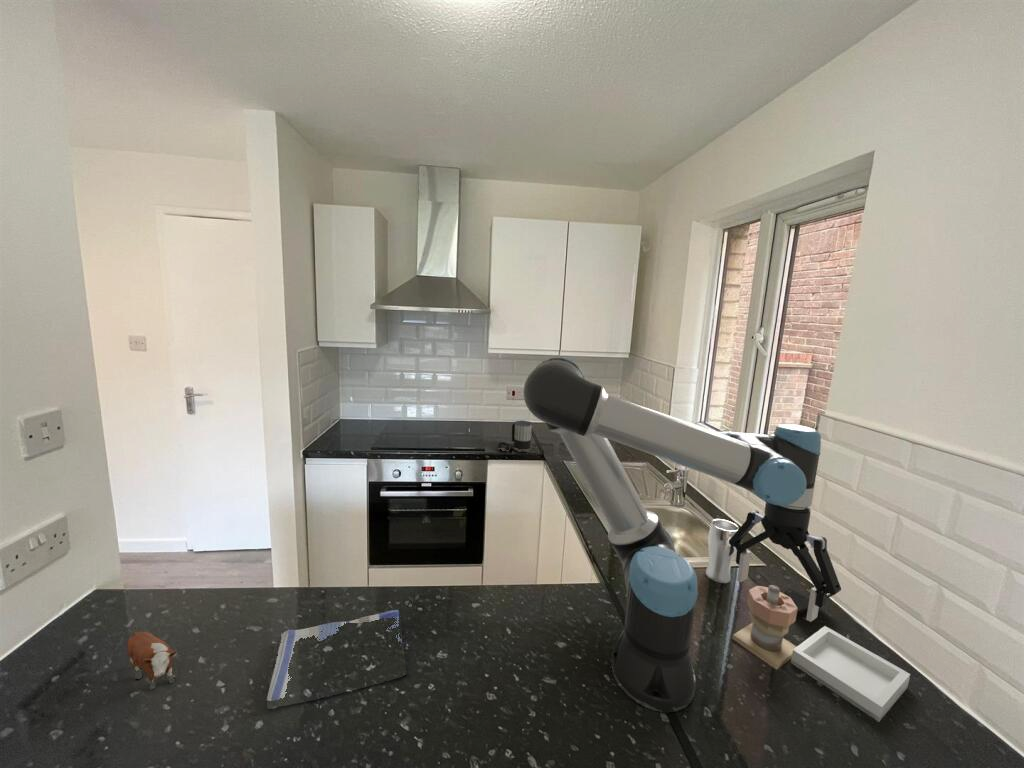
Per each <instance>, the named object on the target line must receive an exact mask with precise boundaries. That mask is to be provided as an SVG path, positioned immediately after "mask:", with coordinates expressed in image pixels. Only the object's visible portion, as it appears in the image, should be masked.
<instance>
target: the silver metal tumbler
mask: <svg viewBox="0 0 1024 768" xmlns="http://www.w3.org/2000/svg"><path fill="white" fill-rule="evenodd" d="M739 528H740V527H739V526H738V525H737V524H736V523H734V522H732V521H729V520H726V519H721V518H714V519H712V520H711V523H710V526H709V532H708V538H707V543H708V547H707V549H708V563H707V566H706V569H705V575H706V576H707V578H709V579H710V580H712V581H714V582H717V583H719V584H728V583H730V582H731V579H732V577H731V567H732V563H733V561H734V558H735V557H736V556H735V555H736V554H737V550H736V548H735V547H734V546H733V545H730V544H729V540H730V539H731V538H732V536H733V535H734V534H735V533H736V532H737V531H738V529H739Z"/></svg>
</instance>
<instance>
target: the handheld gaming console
mask: <svg viewBox="0 0 1024 768" xmlns="http://www.w3.org/2000/svg"><path fill="white" fill-rule="evenodd" d="M782 593H783V594H785V595H787V596H789V597H790V598H791V599H792V600H793V602H794V603H795V605H796V607H797V608H798V609H797V615H796V617H797V616H799V615H801V614H803V613H805V612H806V611H808V605H809V599H810V598H808V597H806V596H805V595H803V594H801V593H799V592H797V591H796V590H794V589H792V588H788V589H786V590H785V591H783V592H782ZM833 596H834V595H831V594H830V593H828V594H827V598H826V600H828V599H830V598H831V597H833Z"/></svg>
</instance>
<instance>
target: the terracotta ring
mask: <svg viewBox="0 0 1024 768" xmlns="http://www.w3.org/2000/svg"><path fill="white" fill-rule="evenodd" d="M768 587H769V586H767V587H766V586H760V585H756V586H754V587H752V588H750V589H749V590H748V594H747V601H746V603H747V606H748V608H749V610H750V612H752V613H753V614H754V615H756V616H757V617H759V618H761V619H762V620H764V621H766V622H767V623H769V624H774V625H779V626H784V627H788V626H789V627H790V626H791V625H792V624H794V623H795V622H796V620H797V616H796V615H797V609H798V608H797V607H796V605H795V603H794V602H793V600H792V599H791V598H790V597H789V596H787V595H785V594H783V592H781V591H780V593H779V599H778V605H772V604H770V603H768V602H767V601H766V600H767V593H768Z"/></svg>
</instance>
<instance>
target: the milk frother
mask: <svg viewBox="0 0 1024 768" xmlns="http://www.w3.org/2000/svg"><path fill="white" fill-rule="evenodd" d="M532 427H533V422H531V421H527V420H516V421H514V423H512V425H511V442H513V447H515V448H518V449H529V448H530V449H531V438H532ZM505 445H507V446H508V445H510V444H509V443H506V442H503V441H500V442H498V444H497V449H498V448H501V447H502V448H505V449H506V447H507V446H505Z"/></svg>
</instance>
